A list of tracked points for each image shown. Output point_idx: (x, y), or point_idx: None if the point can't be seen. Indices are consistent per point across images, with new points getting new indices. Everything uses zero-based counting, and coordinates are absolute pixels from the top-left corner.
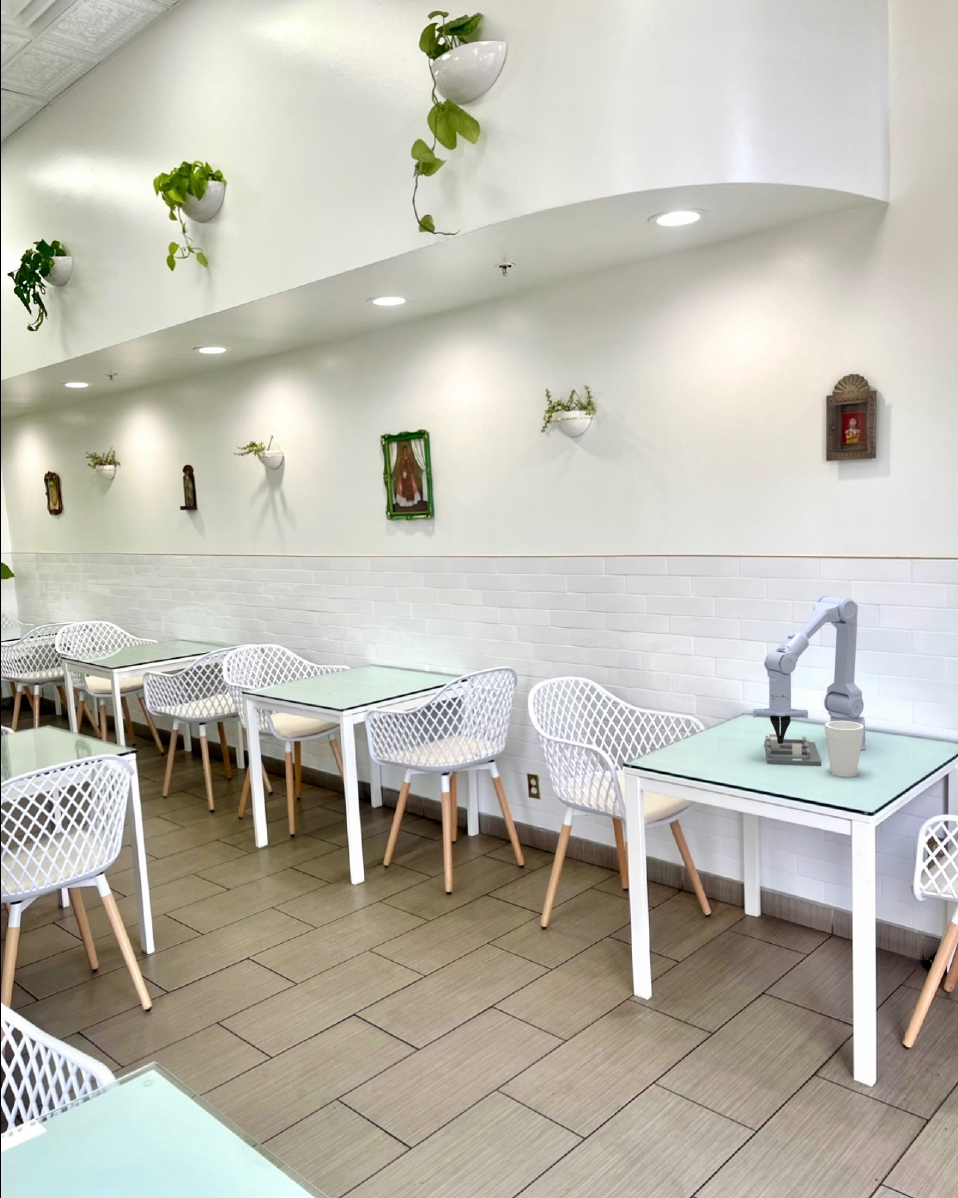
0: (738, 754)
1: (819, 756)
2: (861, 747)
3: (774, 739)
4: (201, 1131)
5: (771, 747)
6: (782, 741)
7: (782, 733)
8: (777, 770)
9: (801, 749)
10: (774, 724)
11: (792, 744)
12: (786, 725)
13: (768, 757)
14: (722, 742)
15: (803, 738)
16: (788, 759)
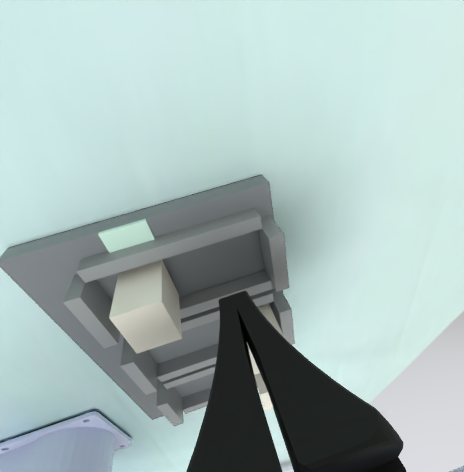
0: (367, 251)
1: (57, 324)
2: (2, 453)
3: None
4: None
5: (269, 309)
6: (223, 307)
7: (235, 351)
8: (193, 71)
9: (113, 303)
10: (337, 403)
11: (171, 324)
12: (216, 439)
13: (267, 217)
14: (392, 326)
15: (174, 415)
16: (172, 228)
